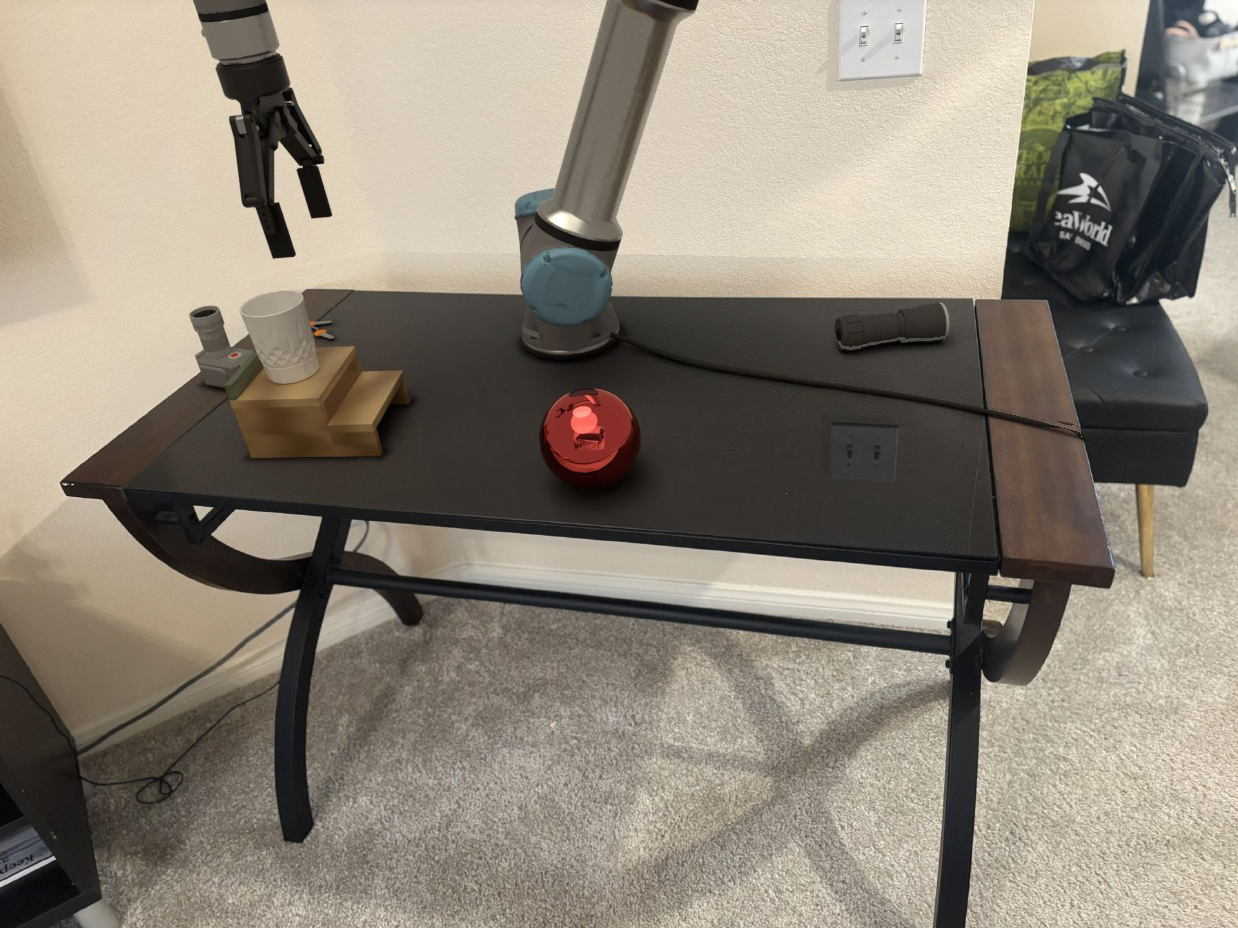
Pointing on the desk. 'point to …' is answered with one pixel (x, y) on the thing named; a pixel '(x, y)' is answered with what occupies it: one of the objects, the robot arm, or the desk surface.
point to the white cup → (281, 335)
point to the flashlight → (893, 325)
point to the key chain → (321, 332)
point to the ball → (590, 438)
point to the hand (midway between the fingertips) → (304, 236)
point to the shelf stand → (315, 407)
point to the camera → (215, 347)
